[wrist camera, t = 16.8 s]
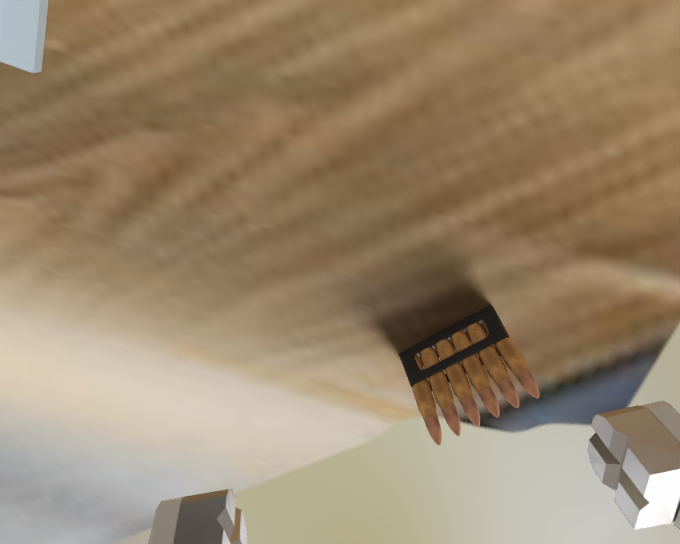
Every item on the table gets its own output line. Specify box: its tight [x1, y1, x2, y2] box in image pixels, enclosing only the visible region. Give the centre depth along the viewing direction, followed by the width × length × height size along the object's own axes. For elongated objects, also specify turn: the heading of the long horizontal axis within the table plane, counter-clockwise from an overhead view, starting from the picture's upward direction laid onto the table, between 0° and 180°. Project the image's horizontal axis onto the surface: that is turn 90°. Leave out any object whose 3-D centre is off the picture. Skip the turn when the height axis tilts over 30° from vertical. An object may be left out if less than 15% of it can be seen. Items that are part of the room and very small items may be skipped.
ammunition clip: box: [399, 306, 539, 445], centre depth 44 cm, size 11×2×12 cm, turn 122°
